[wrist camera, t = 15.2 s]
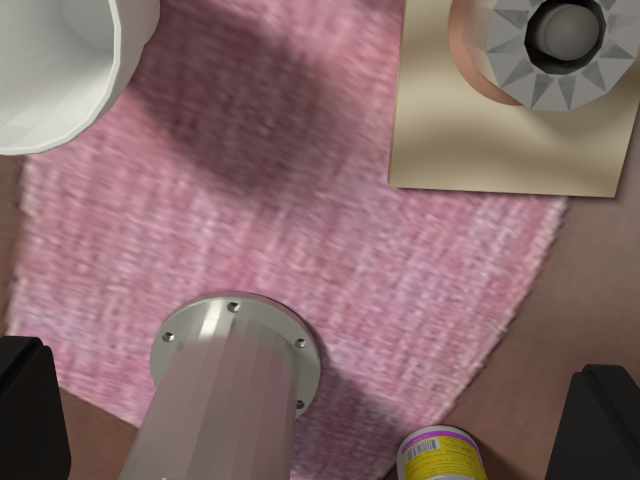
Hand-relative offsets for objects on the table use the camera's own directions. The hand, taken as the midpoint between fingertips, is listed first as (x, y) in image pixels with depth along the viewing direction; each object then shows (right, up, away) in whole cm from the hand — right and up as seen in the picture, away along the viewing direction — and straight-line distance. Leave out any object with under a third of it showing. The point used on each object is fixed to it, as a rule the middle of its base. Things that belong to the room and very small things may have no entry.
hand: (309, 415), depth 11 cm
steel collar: (+12, +15, +22) cm, 29 cm away
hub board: (+12, +14, +24) cm, 31 cm away
